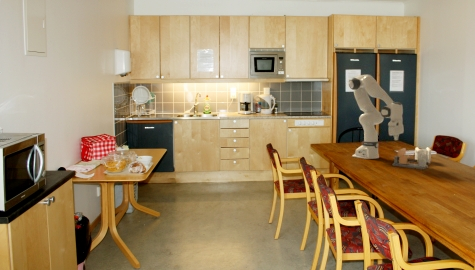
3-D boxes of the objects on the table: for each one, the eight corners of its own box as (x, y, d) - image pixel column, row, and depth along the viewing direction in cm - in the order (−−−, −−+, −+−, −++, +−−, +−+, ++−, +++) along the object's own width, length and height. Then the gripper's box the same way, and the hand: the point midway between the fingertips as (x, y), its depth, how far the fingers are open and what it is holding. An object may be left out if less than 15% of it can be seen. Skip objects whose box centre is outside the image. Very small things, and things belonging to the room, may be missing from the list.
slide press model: (392, 165, 353) (392, 156, 352) (397, 163, 360) (398, 154, 359) (423, 169, 337) (423, 160, 336) (428, 167, 344) (428, 158, 343)
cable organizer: (430, 164, 354) (431, 150, 352) (416, 164, 357) (417, 149, 355) (427, 160, 368) (428, 147, 367) (414, 160, 371) (414, 146, 370)
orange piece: (397, 163, 349) (397, 150, 347) (403, 161, 358) (404, 147, 356) (405, 164, 345) (405, 150, 343) (411, 162, 354) (411, 148, 352)
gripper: (398, 121, 361) (397, 138, 363) (387, 123, 347) (386, 141, 348) (405, 121, 357) (405, 138, 359) (394, 124, 342) (394, 141, 344)
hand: (396, 140), depth 354 cm, fingers closed
